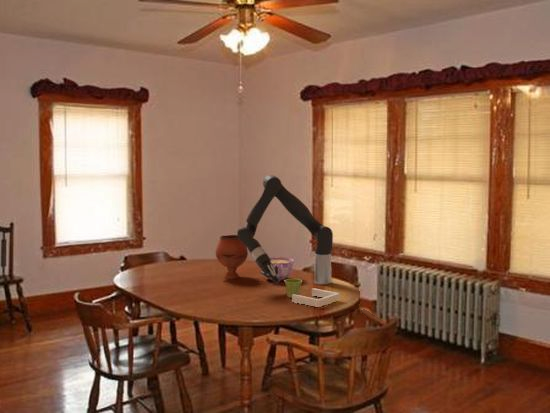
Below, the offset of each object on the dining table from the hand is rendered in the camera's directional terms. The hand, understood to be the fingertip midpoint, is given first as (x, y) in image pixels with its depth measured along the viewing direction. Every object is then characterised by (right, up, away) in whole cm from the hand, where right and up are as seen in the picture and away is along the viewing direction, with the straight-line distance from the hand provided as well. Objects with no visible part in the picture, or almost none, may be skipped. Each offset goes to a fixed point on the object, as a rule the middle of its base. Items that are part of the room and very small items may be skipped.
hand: (277, 282), depth 301 cm
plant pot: (+8, -7, -6) cm, 12 cm away
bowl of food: (0, -3, +35) cm, 35 cm away
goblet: (-28, -2, +40) cm, 48 cm away
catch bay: (+19, -8, -15) cm, 25 cm away
